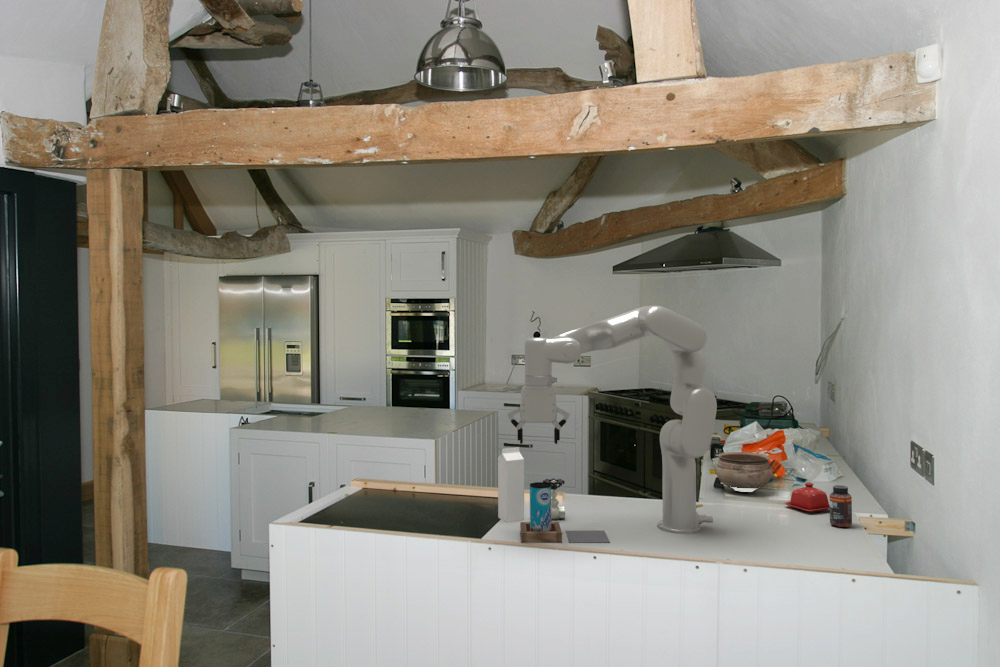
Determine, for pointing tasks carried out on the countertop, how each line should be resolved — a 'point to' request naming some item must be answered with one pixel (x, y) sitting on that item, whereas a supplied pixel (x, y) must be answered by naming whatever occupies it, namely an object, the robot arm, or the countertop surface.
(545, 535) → the walnut socket block
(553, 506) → the valve
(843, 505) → the supplement bottle
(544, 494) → the beverage can
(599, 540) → the charcoal rubber mat
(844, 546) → the countertop surface
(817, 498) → the butter dish
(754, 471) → the cooking pot
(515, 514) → the milk
